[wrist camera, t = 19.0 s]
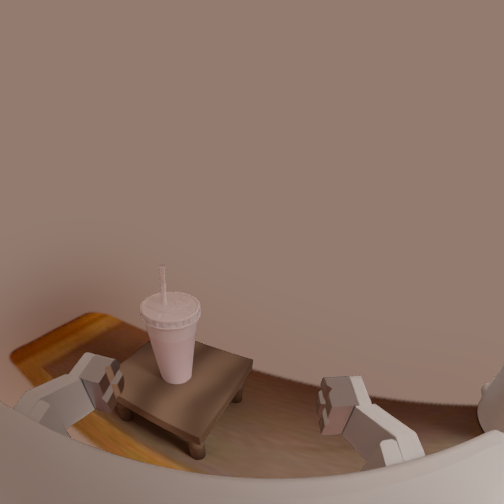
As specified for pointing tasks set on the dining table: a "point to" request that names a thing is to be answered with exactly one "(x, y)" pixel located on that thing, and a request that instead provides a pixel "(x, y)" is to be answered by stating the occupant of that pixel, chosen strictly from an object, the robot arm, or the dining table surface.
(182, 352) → the smoothie
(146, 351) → the stool
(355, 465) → the dining table surface
